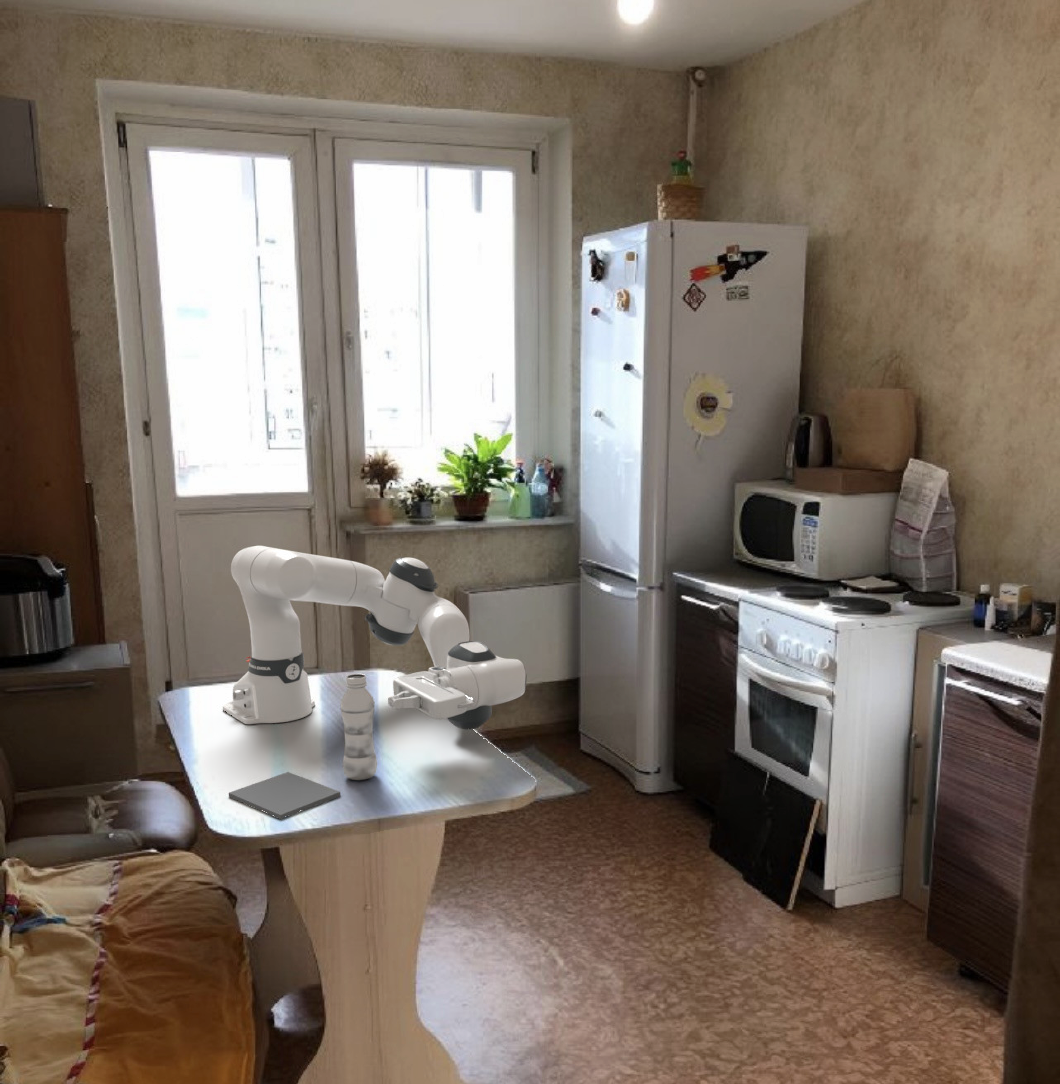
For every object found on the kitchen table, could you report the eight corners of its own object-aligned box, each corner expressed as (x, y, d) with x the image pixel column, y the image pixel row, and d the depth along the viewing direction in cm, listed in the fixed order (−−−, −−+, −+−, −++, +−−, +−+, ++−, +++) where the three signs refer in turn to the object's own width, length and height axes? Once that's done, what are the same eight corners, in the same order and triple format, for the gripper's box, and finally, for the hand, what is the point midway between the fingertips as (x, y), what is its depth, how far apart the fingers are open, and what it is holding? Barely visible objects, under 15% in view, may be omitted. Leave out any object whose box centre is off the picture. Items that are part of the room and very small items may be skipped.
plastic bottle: (364, 768, 192) (359, 669, 190) (385, 777, 188) (380, 676, 185) (336, 778, 188) (331, 676, 185) (356, 787, 183) (351, 683, 180)
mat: (228, 796, 180) (228, 792, 180) (288, 775, 190) (288, 771, 189) (280, 819, 169) (280, 815, 169) (340, 795, 179) (340, 791, 179)
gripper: (480, 719, 188) (415, 733, 180) (432, 693, 205) (371, 706, 198) (479, 687, 187) (413, 700, 180) (431, 664, 204) (369, 675, 197)
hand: (391, 703), depth 189 cm, fingers closed
